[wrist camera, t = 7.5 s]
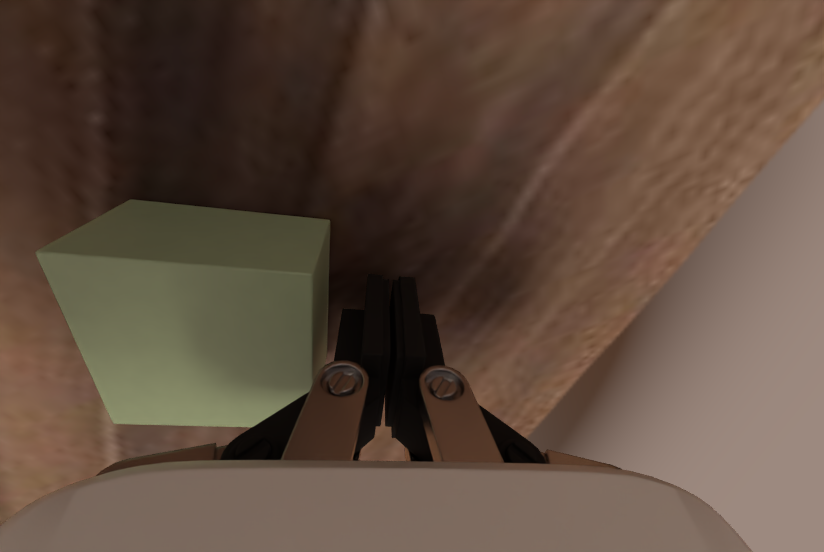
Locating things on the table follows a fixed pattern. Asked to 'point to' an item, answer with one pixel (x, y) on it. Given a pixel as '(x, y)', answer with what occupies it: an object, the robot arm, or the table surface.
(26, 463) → the table surface
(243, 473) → the robot arm
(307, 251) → the sage block
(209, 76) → the table surface
